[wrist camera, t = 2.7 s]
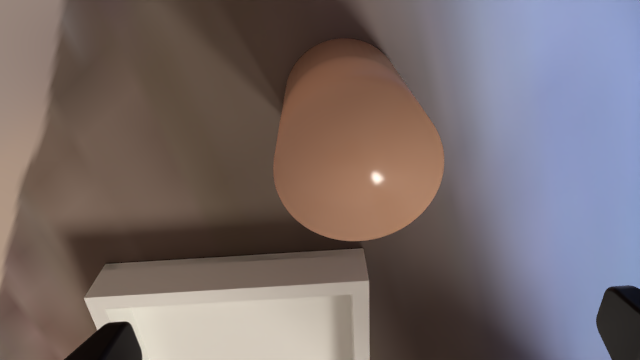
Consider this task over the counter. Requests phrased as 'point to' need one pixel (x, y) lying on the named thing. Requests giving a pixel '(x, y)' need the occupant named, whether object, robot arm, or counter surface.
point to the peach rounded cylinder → (354, 144)
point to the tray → (241, 306)
